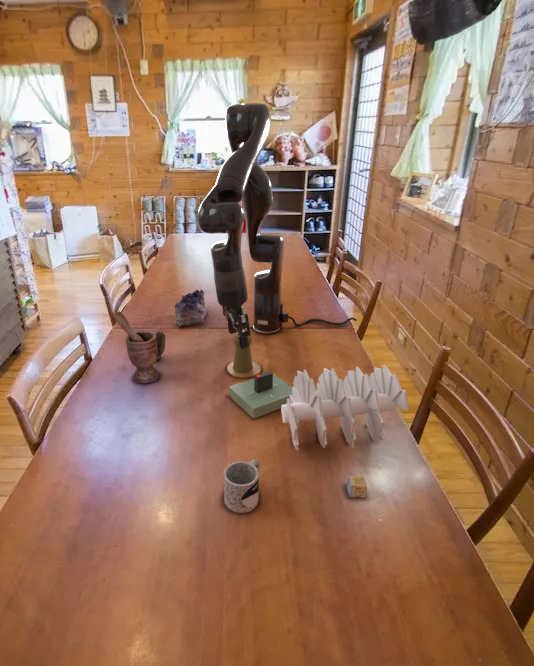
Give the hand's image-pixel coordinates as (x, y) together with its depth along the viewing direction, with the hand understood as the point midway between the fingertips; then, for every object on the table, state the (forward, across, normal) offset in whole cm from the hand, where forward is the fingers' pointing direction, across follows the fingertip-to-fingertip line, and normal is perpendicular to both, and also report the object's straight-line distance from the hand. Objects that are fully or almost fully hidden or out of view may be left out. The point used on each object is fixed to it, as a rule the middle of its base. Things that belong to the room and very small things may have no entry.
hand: (238, 339), depth 119 cm
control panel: (+15, -8, -2) cm, 17 cm away
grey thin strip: (+12, -38, +14) cm, 42 cm away
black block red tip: (+12, -8, -3) cm, 14 cm away
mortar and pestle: (+12, +15, +27) cm, 33 cm away
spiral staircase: (+16, -28, -12) cm, 34 cm away
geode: (+18, +52, +2) cm, 55 cm away
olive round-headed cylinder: (+15, +9, -2) cm, 18 cm away
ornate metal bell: (+14, +24, +21) cm, 35 cm away
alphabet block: (+14, -45, -7) cm, 47 cm away
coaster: (+16, +9, -3) cm, 18 cm away
